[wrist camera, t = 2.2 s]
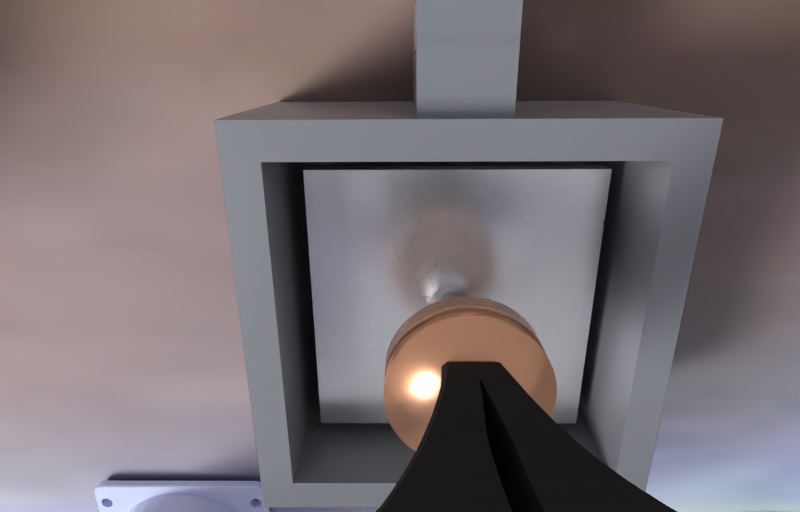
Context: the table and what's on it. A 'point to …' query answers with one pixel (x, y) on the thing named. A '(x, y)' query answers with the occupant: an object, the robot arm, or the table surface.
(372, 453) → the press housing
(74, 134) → the table surface
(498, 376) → the robot arm
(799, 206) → the table surface
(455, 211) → the plunger
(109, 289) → the table surface
